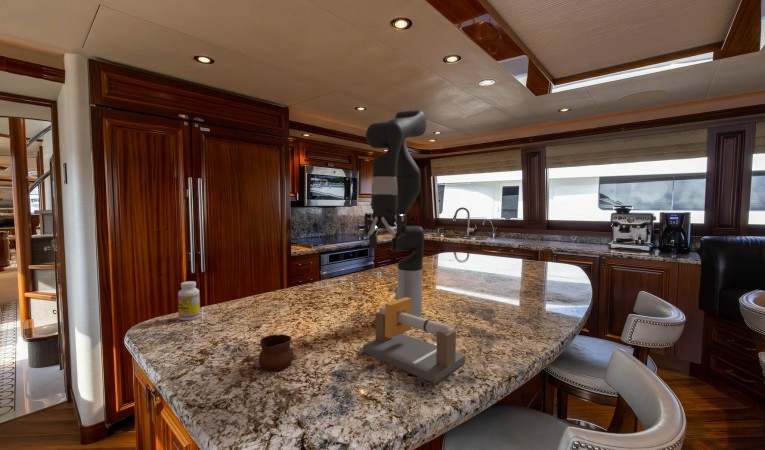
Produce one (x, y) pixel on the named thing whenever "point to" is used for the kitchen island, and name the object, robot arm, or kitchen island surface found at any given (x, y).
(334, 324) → the kitchen island surface
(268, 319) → the kitchen island surface
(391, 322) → the orange square ring
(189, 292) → the supplement bottle
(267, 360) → the ceramic pot
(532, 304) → the kitchen island surface
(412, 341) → the pipe stand
